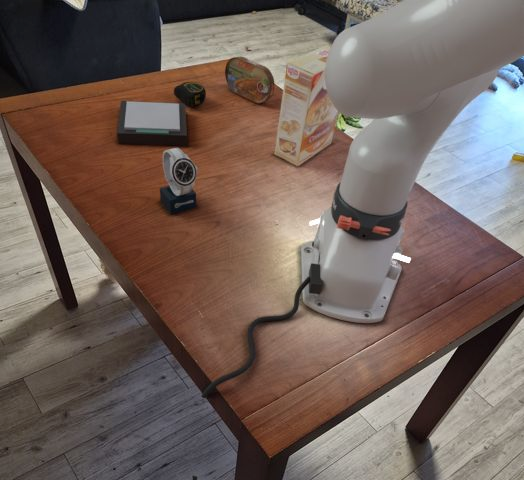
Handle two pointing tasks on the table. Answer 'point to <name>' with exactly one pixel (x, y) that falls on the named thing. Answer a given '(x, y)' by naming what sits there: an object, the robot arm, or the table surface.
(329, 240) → the robot arm
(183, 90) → the tape measure
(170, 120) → the scale
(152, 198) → the table surface
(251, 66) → the tin
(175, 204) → the watch
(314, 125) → the coffeecake box
